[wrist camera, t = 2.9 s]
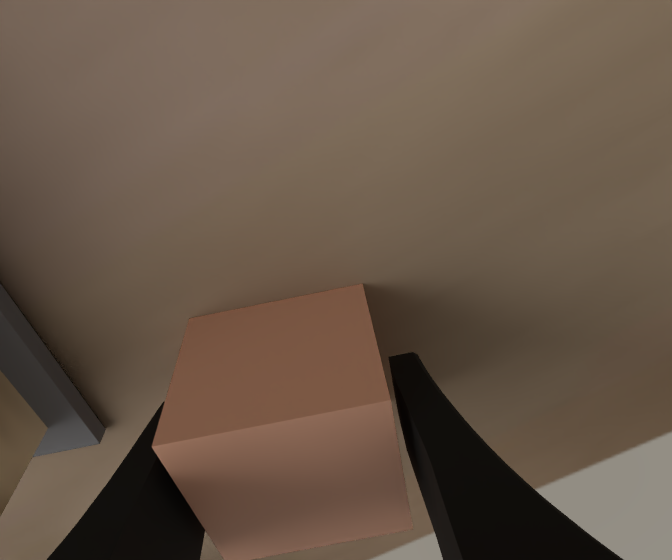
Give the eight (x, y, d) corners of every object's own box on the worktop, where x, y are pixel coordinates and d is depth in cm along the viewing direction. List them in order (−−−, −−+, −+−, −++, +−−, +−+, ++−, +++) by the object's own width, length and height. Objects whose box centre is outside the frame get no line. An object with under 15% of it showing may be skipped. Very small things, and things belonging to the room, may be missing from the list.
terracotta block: (384, 400, 14) (413, 529, 11) (241, 428, 14) (226, 564, 11) (361, 281, 12) (390, 400, 8) (190, 316, 12) (151, 446, 9)
